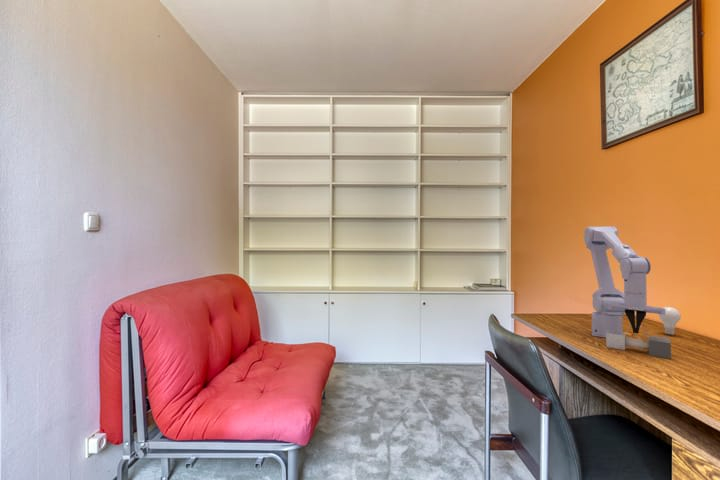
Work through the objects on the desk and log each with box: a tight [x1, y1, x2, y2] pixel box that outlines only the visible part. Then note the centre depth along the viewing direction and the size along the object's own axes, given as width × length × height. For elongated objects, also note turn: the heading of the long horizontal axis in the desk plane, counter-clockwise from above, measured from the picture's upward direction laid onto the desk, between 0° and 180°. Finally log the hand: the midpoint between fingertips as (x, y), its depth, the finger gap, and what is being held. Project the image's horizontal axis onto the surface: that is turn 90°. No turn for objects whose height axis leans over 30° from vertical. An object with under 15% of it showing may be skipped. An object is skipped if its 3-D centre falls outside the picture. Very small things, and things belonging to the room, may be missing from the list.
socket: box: [648, 334, 672, 360], centre depth 101 cm, size 5×7×5 cm
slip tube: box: [625, 325, 649, 351], centre depth 104 cm, size 11×3×8 cm, turn 47°
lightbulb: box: [657, 306, 682, 336], centre depth 122 cm, size 6×6×11 cm
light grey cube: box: [605, 330, 627, 351], centre depth 109 cm, size 5×5×5 cm
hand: (635, 332), depth 105 cm, fingers closed
